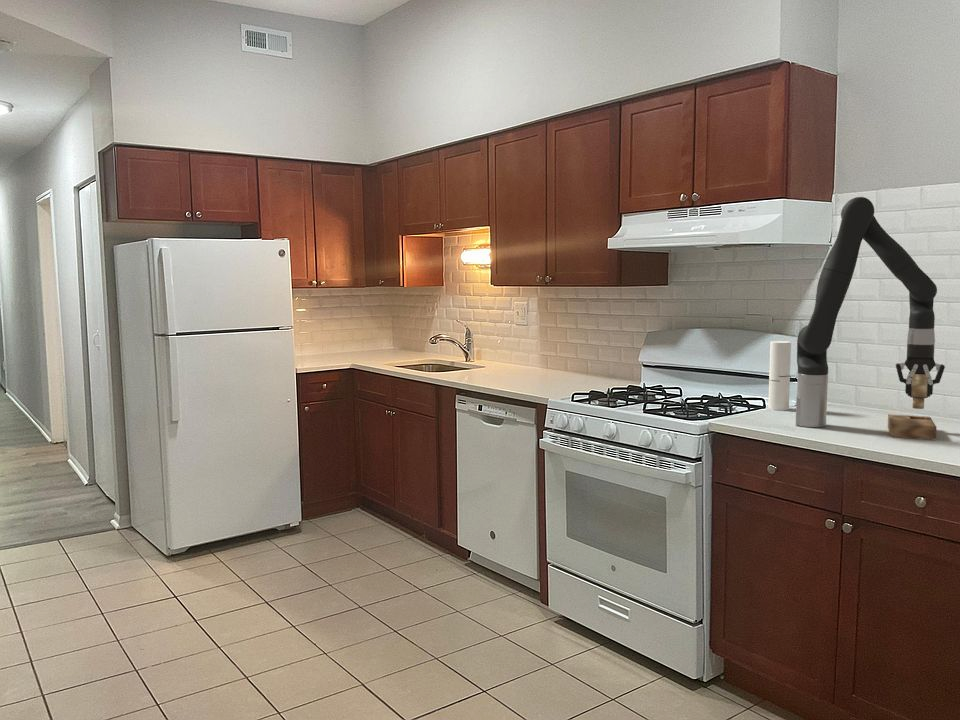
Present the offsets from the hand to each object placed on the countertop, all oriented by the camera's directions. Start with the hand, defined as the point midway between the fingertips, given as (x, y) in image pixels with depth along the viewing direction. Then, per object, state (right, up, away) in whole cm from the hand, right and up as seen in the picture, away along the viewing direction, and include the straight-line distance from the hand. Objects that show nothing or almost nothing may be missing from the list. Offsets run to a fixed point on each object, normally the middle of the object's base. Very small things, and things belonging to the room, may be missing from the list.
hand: (918, 395), depth 249 cm
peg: (0, -4, 0) cm, 4 cm away
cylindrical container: (-28, -7, +43) cm, 52 cm away
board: (-4, -11, -3) cm, 12 cm away
